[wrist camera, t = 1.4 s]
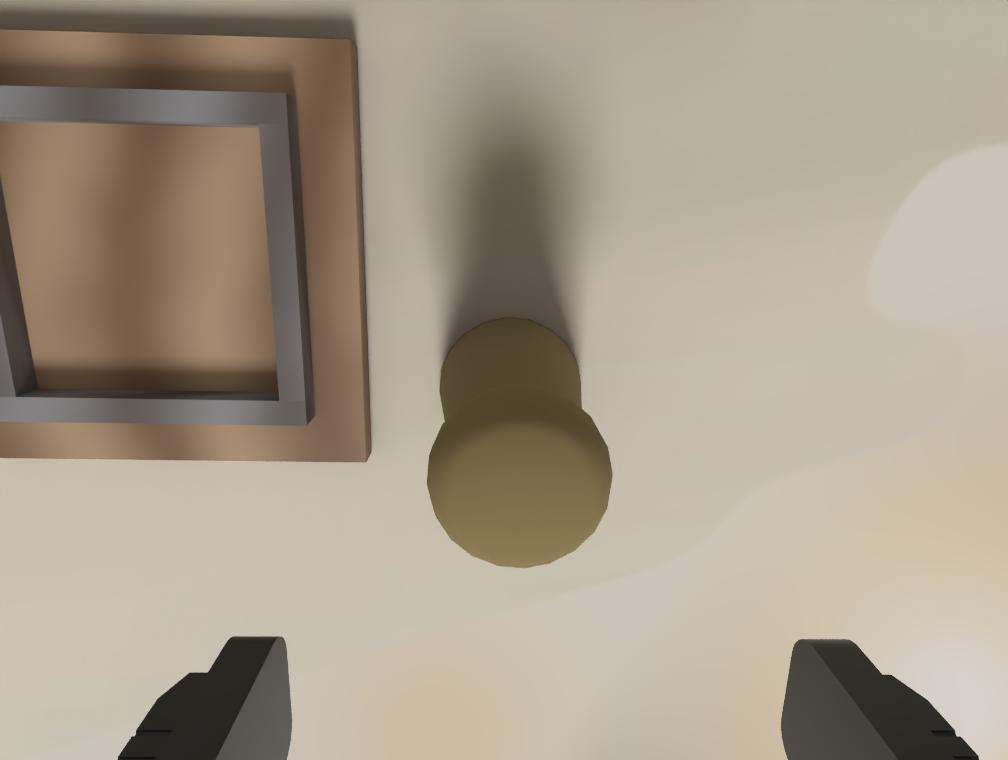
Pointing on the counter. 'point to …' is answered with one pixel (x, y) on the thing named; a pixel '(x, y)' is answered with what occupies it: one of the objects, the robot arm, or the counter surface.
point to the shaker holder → (181, 248)
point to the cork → (516, 448)
